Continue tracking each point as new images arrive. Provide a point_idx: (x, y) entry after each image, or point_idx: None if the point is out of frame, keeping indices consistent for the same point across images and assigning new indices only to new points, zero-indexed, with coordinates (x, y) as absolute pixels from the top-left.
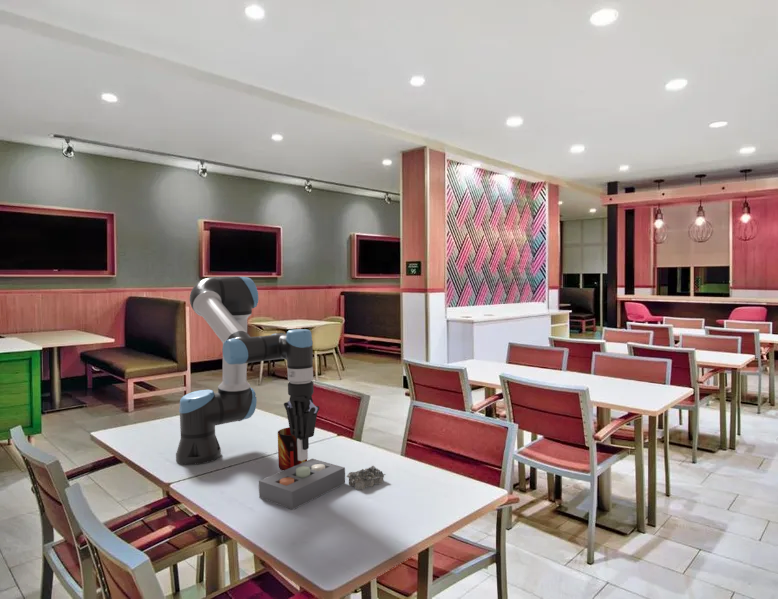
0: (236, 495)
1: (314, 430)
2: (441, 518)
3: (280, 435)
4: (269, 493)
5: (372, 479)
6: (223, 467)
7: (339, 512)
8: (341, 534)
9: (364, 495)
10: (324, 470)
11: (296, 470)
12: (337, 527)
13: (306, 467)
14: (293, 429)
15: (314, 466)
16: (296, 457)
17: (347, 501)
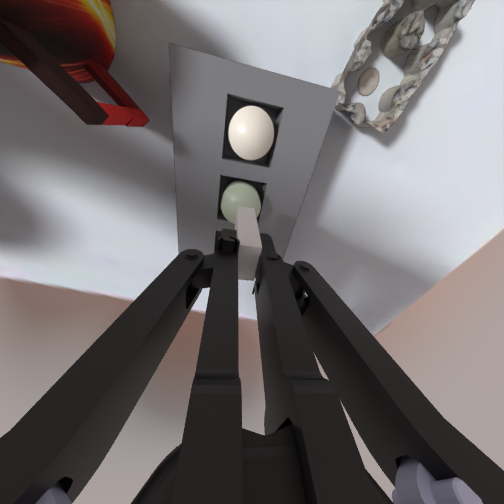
0: (144, 260)
1: (328, 284)
2: None
3: None
4: None
5: (418, 77)
6: None
7: (347, 237)
8: (365, 280)
9: (384, 153)
10: (284, 153)
11: (231, 222)
12: (356, 271)
13: (242, 193)
14: (194, 298)
15: (239, 141)
16: (79, 38)
17: (351, 197)
